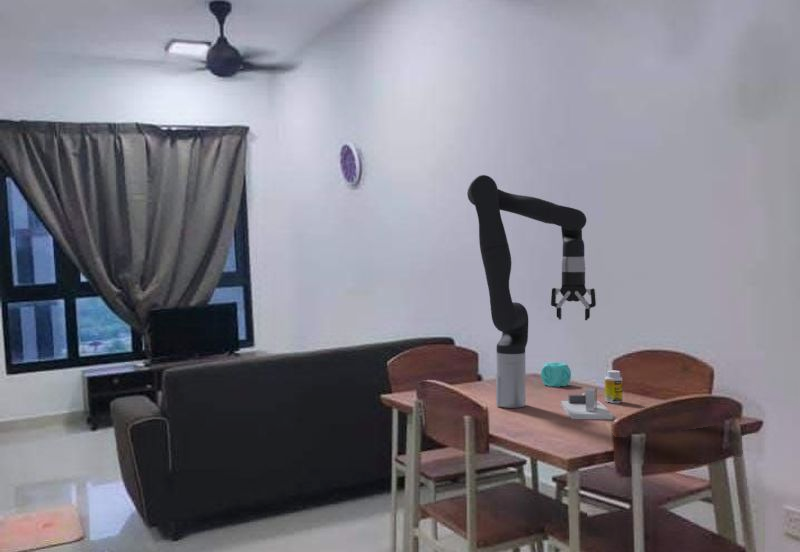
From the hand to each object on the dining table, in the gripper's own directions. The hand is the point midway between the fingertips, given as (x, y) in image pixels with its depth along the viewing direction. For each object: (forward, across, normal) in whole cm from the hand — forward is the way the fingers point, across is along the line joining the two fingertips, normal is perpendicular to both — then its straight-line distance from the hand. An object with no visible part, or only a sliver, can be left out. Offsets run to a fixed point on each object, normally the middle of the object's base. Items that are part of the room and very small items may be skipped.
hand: (573, 319), depth 246 cm
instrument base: (+27, +6, -16) cm, 32 cm away
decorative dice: (+28, -9, +30) cm, 42 cm away
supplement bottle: (+27, +13, +3) cm, 30 cm away
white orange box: (+26, +7, -19) cm, 32 cm away
